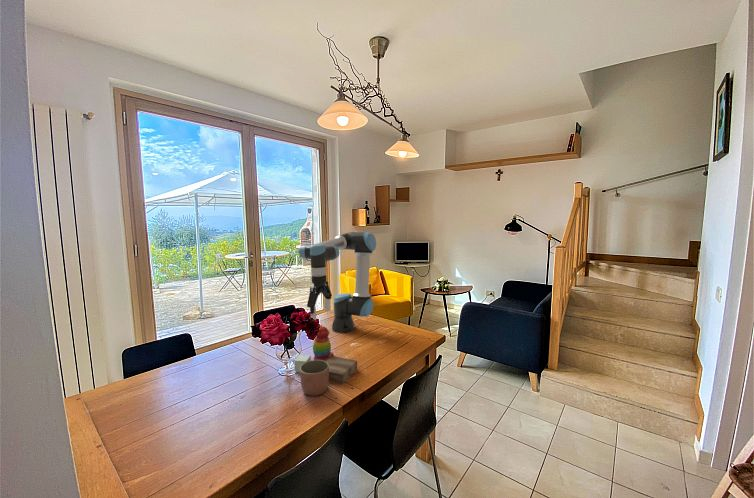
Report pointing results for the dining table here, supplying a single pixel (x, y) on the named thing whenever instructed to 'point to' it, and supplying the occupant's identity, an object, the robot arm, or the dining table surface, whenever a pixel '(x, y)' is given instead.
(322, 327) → the stacking bear
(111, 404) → the dining table surface
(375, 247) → the robot arm
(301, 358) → the block
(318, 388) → the planter
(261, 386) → the dining table surface
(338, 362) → the plinth
